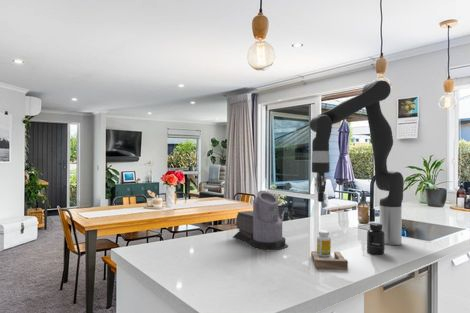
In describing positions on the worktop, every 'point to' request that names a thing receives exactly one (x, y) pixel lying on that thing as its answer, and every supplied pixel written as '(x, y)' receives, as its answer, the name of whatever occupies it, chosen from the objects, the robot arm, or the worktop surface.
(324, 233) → the supplement bottle
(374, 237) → the supplement bottle
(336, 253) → the walnut U-rest
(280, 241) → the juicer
